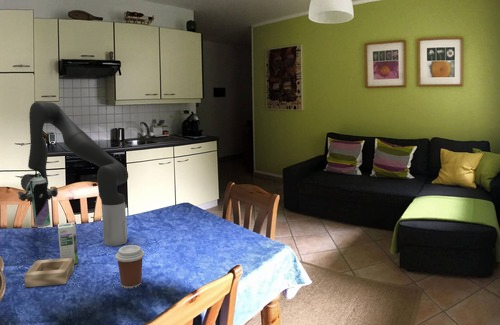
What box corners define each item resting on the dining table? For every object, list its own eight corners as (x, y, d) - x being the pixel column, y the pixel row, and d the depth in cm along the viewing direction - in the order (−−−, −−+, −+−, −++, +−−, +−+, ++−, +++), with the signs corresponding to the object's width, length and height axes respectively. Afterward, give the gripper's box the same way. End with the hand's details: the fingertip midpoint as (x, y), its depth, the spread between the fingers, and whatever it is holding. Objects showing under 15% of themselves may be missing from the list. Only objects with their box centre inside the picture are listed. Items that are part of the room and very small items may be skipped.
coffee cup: (118, 292, 122) (116, 256, 120) (115, 280, 130) (113, 246, 128) (148, 287, 125) (146, 251, 124) (143, 275, 134) (142, 242, 132)
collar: (74, 268, 139) (73, 257, 138) (65, 283, 127) (64, 272, 127) (37, 271, 137) (36, 260, 136) (25, 287, 125) (24, 275, 124)
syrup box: (61, 266, 140) (58, 228, 138) (60, 260, 146) (57, 223, 143) (78, 263, 143) (75, 225, 141) (77, 258, 148) (74, 221, 146)
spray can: (43, 227, 146) (38, 174, 142) (30, 226, 147) (25, 174, 143) (53, 223, 151) (48, 172, 148) (41, 222, 152) (36, 171, 149)
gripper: (15, 182, 155) (16, 190, 141) (55, 178, 162) (60, 185, 148) (17, 200, 156) (18, 211, 142) (57, 196, 163) (62, 205, 149)
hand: (40, 198), depth 145 cm, fingers closed on spray can, 5 cm apart
